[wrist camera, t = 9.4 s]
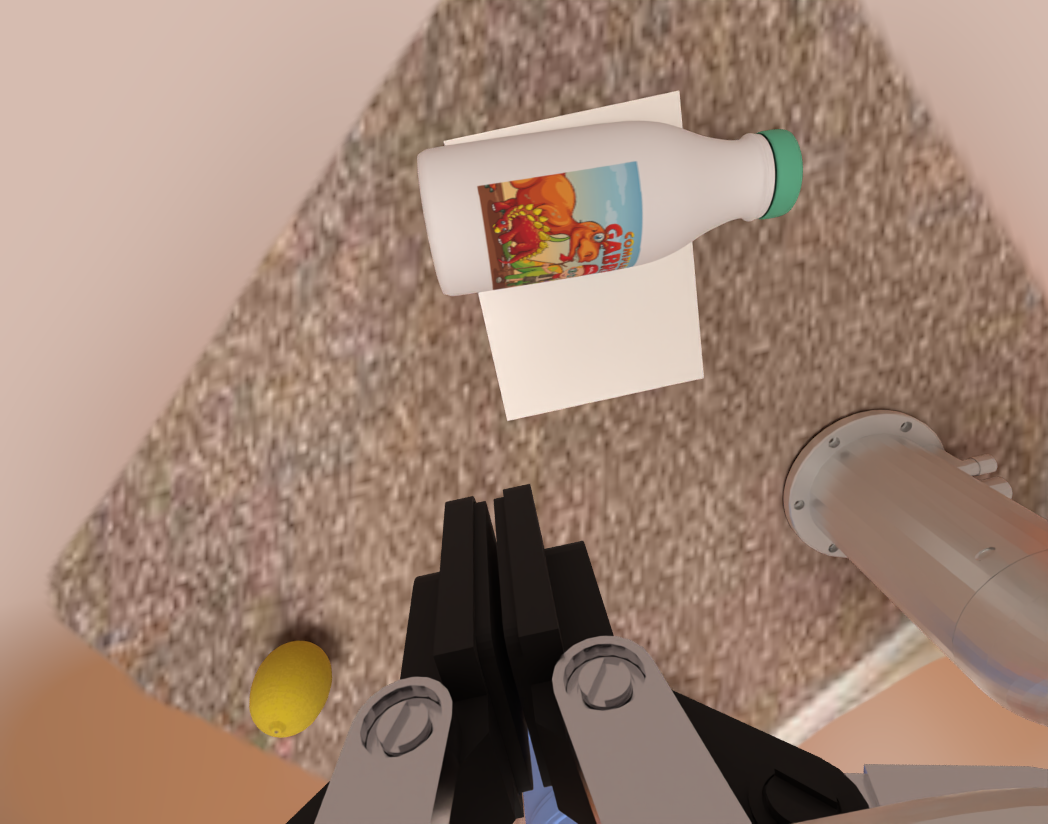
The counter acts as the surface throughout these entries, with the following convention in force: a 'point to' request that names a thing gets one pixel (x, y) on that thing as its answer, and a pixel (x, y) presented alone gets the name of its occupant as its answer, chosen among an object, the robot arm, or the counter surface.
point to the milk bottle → (592, 198)
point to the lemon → (290, 688)
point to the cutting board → (595, 310)
